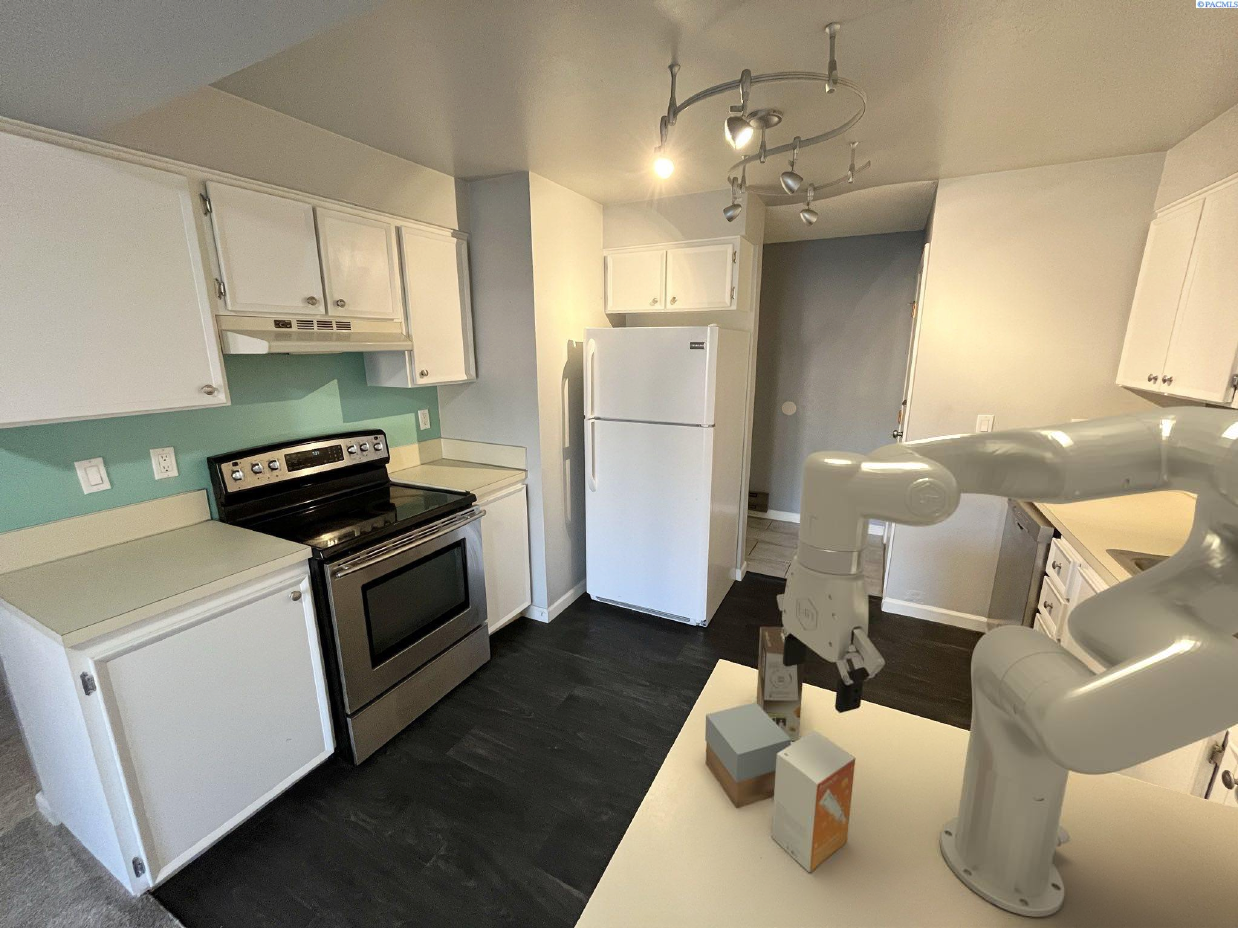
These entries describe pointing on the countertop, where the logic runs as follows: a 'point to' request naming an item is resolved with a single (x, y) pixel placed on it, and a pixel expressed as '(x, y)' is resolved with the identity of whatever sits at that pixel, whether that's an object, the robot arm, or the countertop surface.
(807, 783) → the small box
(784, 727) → the coffee box
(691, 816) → the countertop surface
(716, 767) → the tower base block
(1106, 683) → the robot arm
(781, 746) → the tower top block
